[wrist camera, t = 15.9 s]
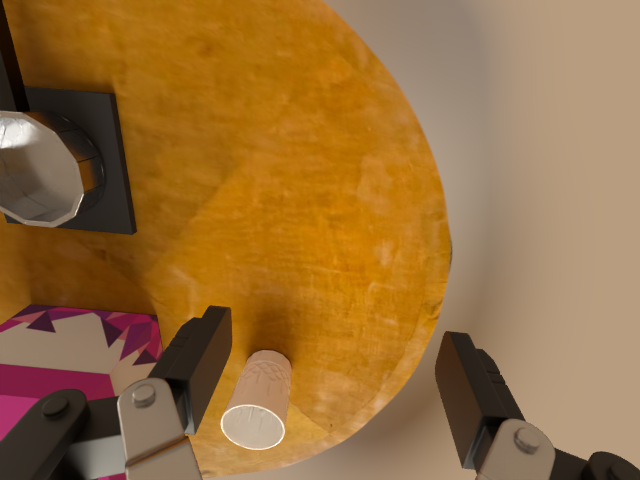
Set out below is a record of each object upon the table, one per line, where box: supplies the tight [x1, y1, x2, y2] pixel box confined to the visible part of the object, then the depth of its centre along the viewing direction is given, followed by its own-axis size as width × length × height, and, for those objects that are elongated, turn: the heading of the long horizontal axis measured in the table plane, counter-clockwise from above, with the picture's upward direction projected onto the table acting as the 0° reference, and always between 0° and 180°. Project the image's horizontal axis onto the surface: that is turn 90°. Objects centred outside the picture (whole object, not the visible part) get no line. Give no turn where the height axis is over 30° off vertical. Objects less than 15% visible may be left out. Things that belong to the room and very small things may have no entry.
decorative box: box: [0, 304, 163, 480], centre depth 46 cm, size 19×19×15 cm
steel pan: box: [0, 0, 106, 228], centre depth 36 cm, size 22×12×4 cm, turn 176°
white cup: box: [221, 350, 292, 450], centre depth 47 cm, size 8×8×10 cm
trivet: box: [4, 86, 137, 235], centre depth 40 cm, size 16×16×1 cm
